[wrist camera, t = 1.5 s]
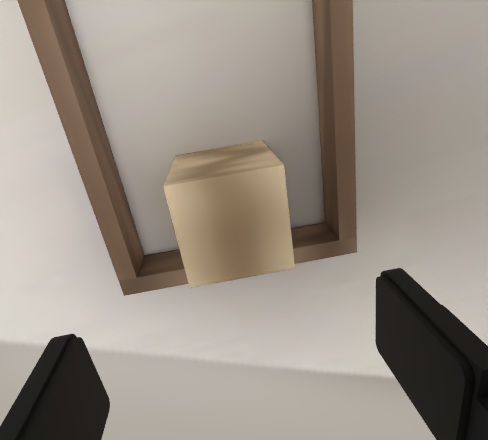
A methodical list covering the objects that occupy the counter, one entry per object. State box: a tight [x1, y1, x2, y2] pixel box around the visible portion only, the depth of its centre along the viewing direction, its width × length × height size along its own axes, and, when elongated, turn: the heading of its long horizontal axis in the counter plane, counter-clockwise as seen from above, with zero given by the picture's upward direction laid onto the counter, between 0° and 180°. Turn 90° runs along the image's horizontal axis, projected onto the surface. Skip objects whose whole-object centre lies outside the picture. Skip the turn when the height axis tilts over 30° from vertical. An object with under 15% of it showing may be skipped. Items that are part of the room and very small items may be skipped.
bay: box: [18, 0, 357, 296], centre depth 20 cm, size 16×21×3 cm
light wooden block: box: [163, 141, 295, 288], centre depth 21 cm, size 6×6×7 cm
